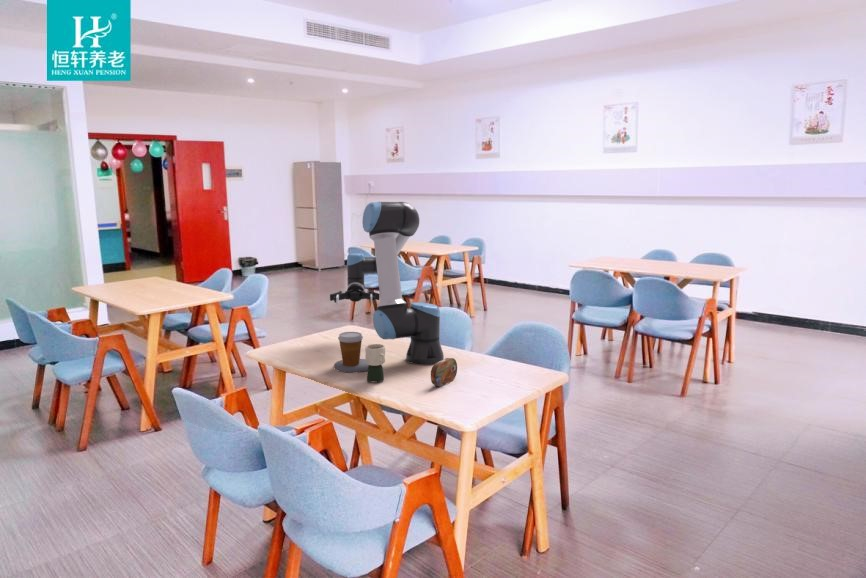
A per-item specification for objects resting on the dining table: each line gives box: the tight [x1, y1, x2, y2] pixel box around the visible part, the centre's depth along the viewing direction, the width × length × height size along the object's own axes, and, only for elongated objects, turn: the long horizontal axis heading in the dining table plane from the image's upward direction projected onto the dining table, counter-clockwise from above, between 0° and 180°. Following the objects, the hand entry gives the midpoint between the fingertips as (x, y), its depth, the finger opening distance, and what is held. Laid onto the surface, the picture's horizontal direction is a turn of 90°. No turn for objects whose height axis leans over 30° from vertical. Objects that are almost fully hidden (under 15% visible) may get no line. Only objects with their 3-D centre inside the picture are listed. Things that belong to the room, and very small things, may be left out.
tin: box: [430, 357, 458, 388], centre depth 212 cm, size 15×3×8 cm, turn 148°
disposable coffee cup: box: [337, 331, 364, 367], centre depth 230 cm, size 10×10×12 cm
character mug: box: [364, 343, 386, 383], centre depth 213 cm, size 11×7×13 cm, turn 39°
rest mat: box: [333, 358, 369, 374], centre depth 231 cm, size 16×16×1 cm
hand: (354, 300), depth 237 cm, fingers open, 13 cm apart
